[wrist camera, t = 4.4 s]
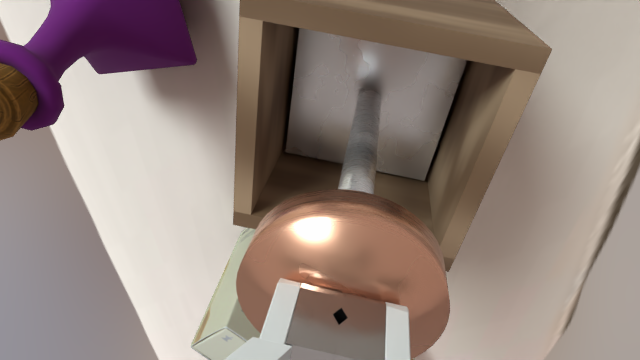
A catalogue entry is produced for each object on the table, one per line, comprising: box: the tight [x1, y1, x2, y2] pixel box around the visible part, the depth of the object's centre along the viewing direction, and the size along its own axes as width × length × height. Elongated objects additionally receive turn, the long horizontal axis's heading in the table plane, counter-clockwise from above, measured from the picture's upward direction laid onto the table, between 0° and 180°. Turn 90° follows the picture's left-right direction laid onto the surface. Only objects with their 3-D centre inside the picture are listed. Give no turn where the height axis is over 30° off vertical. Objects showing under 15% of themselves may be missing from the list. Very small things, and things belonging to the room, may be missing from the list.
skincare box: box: [191, 228, 261, 360], centre depth 33 cm, size 6×4×12 cm
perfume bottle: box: [0, 0, 197, 140], centre depth 20 cm, size 8×8×18 cm
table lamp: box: [236, 28, 467, 359], centre depth 15 cm, size 8×8×13 cm
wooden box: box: [233, 0, 552, 272], centre depth 21 cm, size 10×10×14 cm
